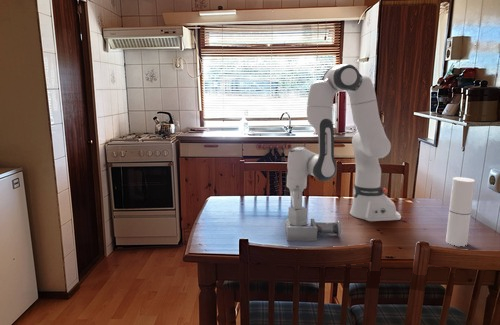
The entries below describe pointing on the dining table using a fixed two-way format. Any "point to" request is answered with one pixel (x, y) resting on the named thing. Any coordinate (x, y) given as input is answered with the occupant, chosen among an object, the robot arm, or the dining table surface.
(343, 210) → the dining table surface
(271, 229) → the dining table surface
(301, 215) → the skincare box
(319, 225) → the grey compartment organizer
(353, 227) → the dining table surface
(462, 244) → the cylindrical container
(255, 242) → the dining table surface
